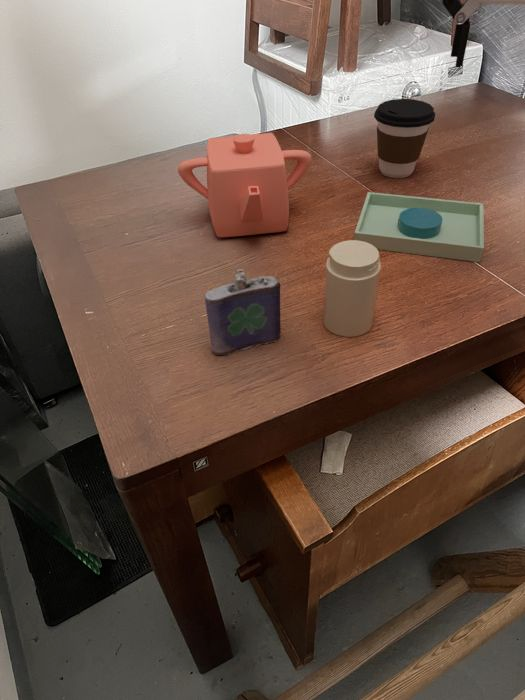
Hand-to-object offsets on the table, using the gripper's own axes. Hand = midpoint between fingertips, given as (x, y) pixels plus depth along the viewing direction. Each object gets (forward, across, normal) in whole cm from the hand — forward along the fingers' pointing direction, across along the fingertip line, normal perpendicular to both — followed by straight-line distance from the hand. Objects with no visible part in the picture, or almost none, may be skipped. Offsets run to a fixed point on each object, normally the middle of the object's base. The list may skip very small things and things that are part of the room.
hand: (505, 65), depth 55 cm
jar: (+28, -13, -14) cm, 33 cm away
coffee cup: (+27, -12, +34) cm, 45 cm away
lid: (+25, -6, +12) cm, 29 cm away
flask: (+28, -25, -21) cm, 43 cm away
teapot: (+27, -34, +8) cm, 44 cm away
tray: (+27, -6, +12) cm, 30 cm away
